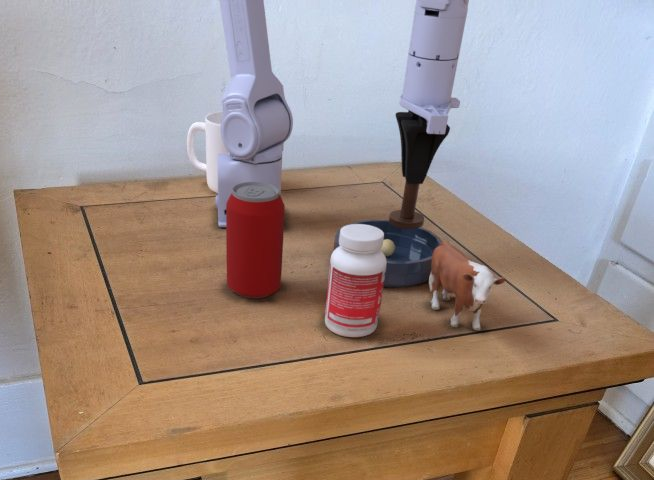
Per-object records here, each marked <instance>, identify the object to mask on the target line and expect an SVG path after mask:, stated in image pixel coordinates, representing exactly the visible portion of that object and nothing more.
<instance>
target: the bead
mask: <svg viewBox="0 0 654 480" xmlns="http://www.w3.org/2000/svg"><path fill="white" fill-rule="evenodd" d="M380 250H381V251H382V252H383V254H384V255H385V256H386V257H387V256H390V255H392V254H393V252H394V250H395V245H394V243H393V241H391V240H389V239H385V240H383V246H382V248H381V249H380Z"/></svg>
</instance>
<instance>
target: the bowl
mask: <svg viewBox="0 0 654 480" xmlns="http://www.w3.org/2000/svg"><path fill="white" fill-rule="evenodd" d="M351 224H365V225H370V226H374V227H377V228H379V229H380V230H382V231H383V233H384V240H385V239H389V240H391V241H393V243H394V245H395V250H394V252H393V254H392V255H390V256H387V257H386V256H385V257H386V261H387V264H386V272H385V278H384V285H383V288H406V287H413V286H417V285H420V284H423V283H425V282H427V281H429V277H430V273H431V270H432V269H431V263H432V255H433V252H434V250H435V248H437V247H438V246H439V245H440V244H441V243H442V242H443V240H442V238H441V237H440V236H439V235H437V234H436V233H435V232H434V231H432V230H429V229H427V228H425V227H423V226H422V227H420V228H416V229H404V228H399V227H396V226H394V225H392V224H390V222H389V219H380V218H379V219H375V218H373V219H372V218H371V219H364V220H356V221H353V222H349V223H346V224H344V225H343V226H341V227H340V228H338V229H337V230H336V233H335V234H334V238H333V239H334V241H333V249H332V252H333V251H334V250H335V249H336V248H338V247H339V246H340V245H339V237H340V230H341V228H342V227H344V226H346V225H351Z"/></svg>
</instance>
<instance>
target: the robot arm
mask: <svg viewBox="0 0 654 480" xmlns="http://www.w3.org/2000/svg"><path fill="white" fill-rule="evenodd" d="M469 1H470V0H416V1H415V6H414V12H413V20H412V27H411V34H410V40H409V46H408V53H407V60H406V68H405V74H404V81H403V88H402V94H401V95H400V97H399V106H401V108H403V109H404V110H405V109H406V110H407V111H397V112H396V113H395V119H396V122H397V126H398V132H399V137H400V150H401V153H400V154H401V174H402V177H403V178H405V182H406V183H407V184H419V185H423V184H424V182H425V180H426V177H427V175H428V172H429V170H430V168H431V164H432V163H433V160H434V157H435V155H436V154H437V152H438V149H439V148H440V146H441V145H442V143H443V142H444V141H445V139H446V138H447V137H448V136H449V133H450V131H451V127H450V126H449V124H448V121H449V113H450V111H451V109H458V108H460V106H461V100H460V99H459V98H457V97H452V94H453V90H454V83H455V78H456V73H457V68H458V63H459V57H460V53H461V48H462V42H463V37H464V33H465V26H466V20H467V15H468V10H469ZM219 5H220V14H221V20H222V27H223V33H224V40H225V47H226V52H227V58H228V59H227V60H228V67H229V73H230V80H229V83H228V84H227V86H226V89H225V90H224V93H223V95H222V98H221V107H222V111H223V118H222V122H221V137H222V141H223V143H224V145H225V147H226V149H227V150H228V152H229V153H227V154H218V193H217V194H216V195H215V210H217V217H218V219H217V222H218V227H219V228H226V203H227V201H228V199H229V197H230V195H231V193H232V189H233V187H234V186H235V185H237V184H240V183H244V182H263V183H268V184H271V185H274V186H276V187H277V188H278V189H279V194H280V196H281V197H282V195H281V193H282V173H283V172H282V171H283V152H284V148H285V147H284V144H285V142H287V140H288V139H289V138H290V136H291V134H292V132H293V127H294V118H293V113H292V110H291V108H290V106H289V104H288V102H287V99H286V96H285V90H284V89H285V88H284V85H283V84H282V82H281V81H280V79H278V77H277V76H276V75H275V74H274V72H273V69H272V61H271V52H270V51H271V50H270V43H269V35H268V27H267V25H268V24H267V19H266V10H265V1H264V0H219Z"/></svg>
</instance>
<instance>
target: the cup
mask: <svg viewBox="0 0 654 480" xmlns="http://www.w3.org/2000/svg"><path fill="white" fill-rule="evenodd" d="M222 118H223V110H222V111H214V112H211V113H207V115H205V117H204V121H203V122H202V121H196V122H194V123H192V124H191V125H190V126H189V128H188V131H187V137H186V150H187V156H188V159H189V162H190V163H191V164H192V166H193V167H194V168H195V169H196V170H198V171H201V172H204V173H206V183H207V186H208V188H209V190H210V191H212V192H214V193H216V194H218V154H227V153H229V152H228V150H227V149H226V147H225V145H224V143H223V141H222V137H221V122H222ZM197 131H200V132H203V133H205V162H201V161H200V160H199V159H198V158H197V156H196V154H195V146H194V143H195V135H196V133H197Z"/></svg>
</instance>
